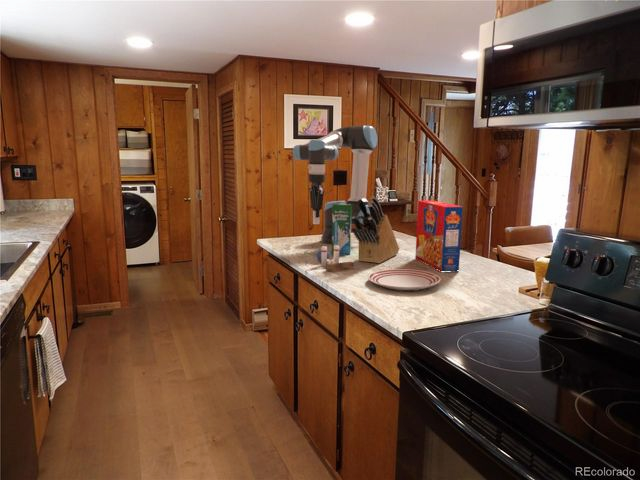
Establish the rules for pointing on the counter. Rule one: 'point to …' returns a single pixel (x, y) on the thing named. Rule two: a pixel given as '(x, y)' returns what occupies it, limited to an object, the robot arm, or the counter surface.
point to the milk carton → (341, 228)
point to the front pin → (329, 261)
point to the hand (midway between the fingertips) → (316, 224)
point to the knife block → (374, 233)
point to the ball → (320, 255)
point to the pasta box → (439, 234)
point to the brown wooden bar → (339, 266)
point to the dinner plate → (404, 279)
